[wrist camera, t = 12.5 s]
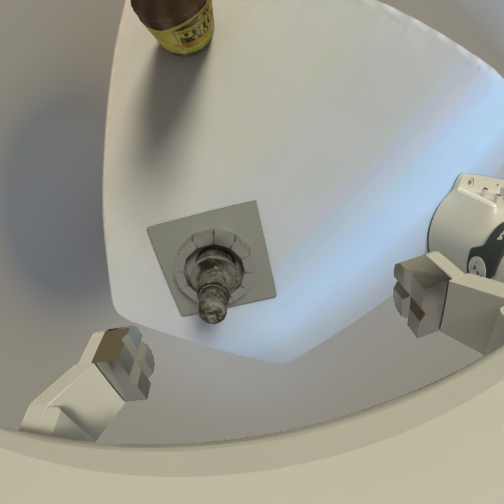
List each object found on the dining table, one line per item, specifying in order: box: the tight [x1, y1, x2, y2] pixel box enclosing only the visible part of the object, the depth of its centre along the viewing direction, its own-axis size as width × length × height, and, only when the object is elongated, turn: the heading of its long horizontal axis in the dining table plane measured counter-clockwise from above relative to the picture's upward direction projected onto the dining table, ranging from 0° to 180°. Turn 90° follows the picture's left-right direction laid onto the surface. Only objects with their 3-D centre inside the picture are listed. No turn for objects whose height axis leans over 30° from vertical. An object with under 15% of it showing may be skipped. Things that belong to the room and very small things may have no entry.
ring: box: [174, 228, 255, 303], centre depth 38 cm, size 10×10×2 cm
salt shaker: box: [190, 245, 239, 324], centre depth 33 cm, size 6×6×12 cm
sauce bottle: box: [131, 0, 214, 56], centre depth 17 cm, size 6×6×20 cm
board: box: [147, 200, 277, 316], centre depth 39 cm, size 14×14×1 cm
